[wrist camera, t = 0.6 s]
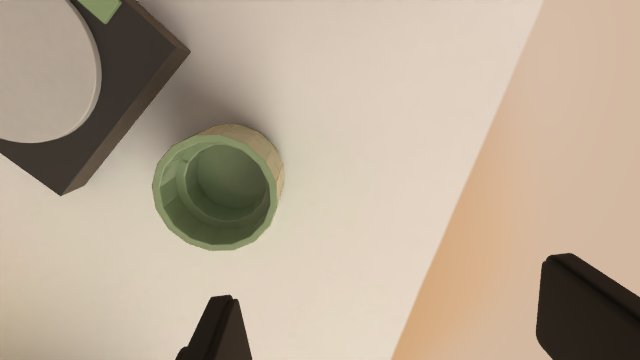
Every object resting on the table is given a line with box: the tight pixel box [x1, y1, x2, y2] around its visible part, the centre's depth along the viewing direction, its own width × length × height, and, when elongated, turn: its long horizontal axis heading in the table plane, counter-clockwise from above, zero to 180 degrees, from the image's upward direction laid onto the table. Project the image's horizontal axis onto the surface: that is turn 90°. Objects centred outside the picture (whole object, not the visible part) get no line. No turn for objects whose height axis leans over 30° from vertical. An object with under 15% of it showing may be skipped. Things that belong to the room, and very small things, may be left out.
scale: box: [0, 0, 191, 196], centre depth 20 cm, size 13×13×3 cm
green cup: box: [152, 124, 284, 251], centre depth 22 cm, size 7×7×5 cm
